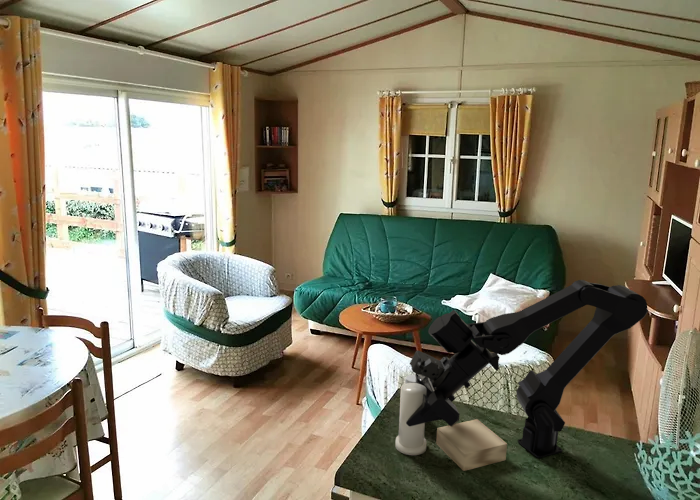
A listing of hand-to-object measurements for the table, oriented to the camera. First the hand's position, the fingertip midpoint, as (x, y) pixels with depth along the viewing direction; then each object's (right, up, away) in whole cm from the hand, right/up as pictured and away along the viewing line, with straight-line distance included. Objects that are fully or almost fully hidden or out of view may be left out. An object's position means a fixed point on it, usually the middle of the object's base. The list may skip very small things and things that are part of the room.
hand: (405, 417), depth 111 cm
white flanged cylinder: (+1, -6, +1) cm, 7 cm away
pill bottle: (+3, -4, +13) cm, 14 cm away
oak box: (+13, -7, 0) cm, 15 cm away
